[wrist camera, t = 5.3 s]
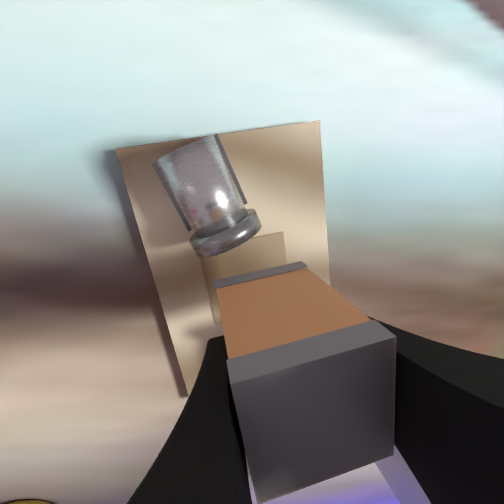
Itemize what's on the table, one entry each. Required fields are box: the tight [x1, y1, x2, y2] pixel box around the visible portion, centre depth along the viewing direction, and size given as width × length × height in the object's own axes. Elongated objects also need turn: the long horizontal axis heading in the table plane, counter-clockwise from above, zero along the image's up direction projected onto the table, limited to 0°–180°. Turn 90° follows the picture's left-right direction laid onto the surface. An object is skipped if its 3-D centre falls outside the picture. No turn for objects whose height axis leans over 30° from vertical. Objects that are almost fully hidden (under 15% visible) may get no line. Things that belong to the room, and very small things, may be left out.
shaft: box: [152, 134, 262, 258], centre depth 13 cm, size 5×4×5 cm
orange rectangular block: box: [213, 261, 396, 504], centre depth 9 cm, size 4×4×6 cm
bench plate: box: [115, 121, 330, 396], centre depth 17 cm, size 17×11×1 cm, turn 8°
